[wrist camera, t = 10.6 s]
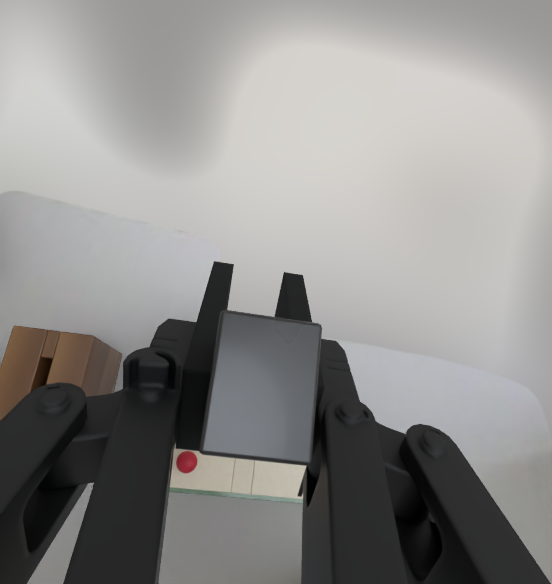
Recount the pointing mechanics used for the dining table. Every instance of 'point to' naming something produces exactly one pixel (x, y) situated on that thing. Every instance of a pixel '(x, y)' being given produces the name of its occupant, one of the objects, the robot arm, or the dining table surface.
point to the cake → (235, 475)
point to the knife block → (55, 364)
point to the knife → (262, 389)
